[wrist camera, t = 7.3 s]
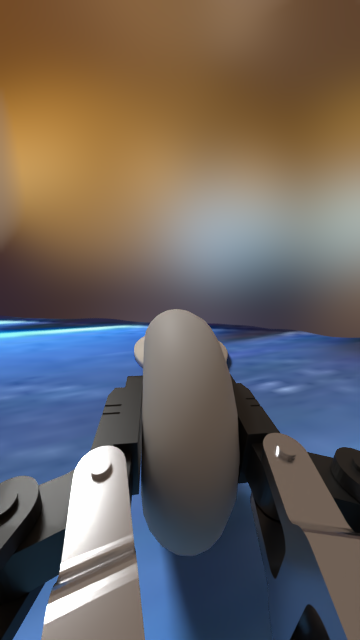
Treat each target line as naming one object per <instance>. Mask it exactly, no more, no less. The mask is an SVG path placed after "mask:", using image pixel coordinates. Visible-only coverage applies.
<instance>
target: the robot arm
mask: <svg viewBox="0 0 360 640" xmlns="http://www.w3.org/2000/svg"><path fill="white" fill-rule="evenodd" d="M230 376H231V375H230ZM231 380H232V386H233V391H234V397H235V403H236V408H237V414H238V430H239V448H240V464H239V475H238V483H247V482H248V484H249V486H250V488H251V496H250V503H251V508H252V513H253V518H254V522H255V527H256V532H257V536H258V541H259V546H260V550H261V555H262V560H263V564H264V569H265V574H266V579H267V585H268V608H269V619H270V626H271V633H272V638H273V640H360V451H358V450H355V449H352V448H347V447H342V448H339V449H337V451H336V453H335V455H334V458H331V457H327V456H322V455H318V454H313V453H309V452H307V451H306V450H305V449H304V447H303V446H302V445H301V444H300V443H298V442H297V441H296V440H294V439H293V438H291V437H289V436H287V435H284V434H281V433H280V432H279V431H278V429H277V428H276V426H275V425H274V424H273V422H272V421H271V419H270V418H269V417H268V415H267V414H266V412H265V411H264V410H263V408H262V407H261V406H260V404H259V403H258V401H257V400H256V399H255V397H254V396H253V394H252V393H251V392H250V390H249V389H248V388H246V387H245V386H244V385H242V384H241V383H236V382H235V381H234V379H233V378H232V376H231ZM142 397H143V376H128V377H127V382H126V386H125V388H115V389H114V390H113V391H112V392H111V393H110V394H109V396H108V398H107V401H106V404H105V407H104V411H103V415H102V417H101V420H100V423H99V426H98V429H97V432H96V435H95V439H94V442H93V445H92V448H91V450H90V452H89V453H88V454H86V455H85V456H84V457H83V458H82V459H81V461H80V462H79V463H78V465H77V467H76V468H75V469H74V470H73V471H71V472H69V473H68V474H65V475H63V476H61V477H59V478H56V479H53V480H51V481H48V482H46V483H43V484H41V485H38V484H37V482H36V480H35V479H34V478H32V477H29V476H18V477H14V478H11V479H8V480H6V481H4V482H2V483H0V640H13V638H14V636H15V634H16V633H17V631H18V629H19V628H20V626H21V624H22V622H23V621H24V619H25V617H26V615H27V614H28V612H29V610H30V608H31V607H32V605H33V603H34V601H35V600H36V598H37V596H38V594H39V593H40V591H41V589H42V588H43V586H44V584H45V582H47V581H49V580H50V579H52V578H54V577H55V576H57V575H59V577H58V580H57V582H56V583H55V584H54V586H53V588H52V590H51V594H50V597H49V601H48V605H47V610H46V615H45V620H44V626H43V632H42V638H41V640H145V637H144V627H143V617H142V607H141V597H140V587H139V578H138V568H137V559H136V551H135V547H134V539H133V529H132V519H131V500H132V495H136V494H139V481H140V465H141V448H142Z"/></svg>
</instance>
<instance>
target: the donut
mask: <svg viewBox="0 0 360 640" xmlns="http://www.w3.org/2000/svg"><path fill="white" fill-rule="evenodd" d="M239 464H240V448H239V430H238V414H237V408H236V403H235V397H234V391H233V386H232V380H231V376H230V373H229V370H228V367H227V364H226V361H225V357H224V354H223V351H222V348H221V346H220V343H219V341H218V340H217V338H216V336H215V335H214V333H213V331H212V329H211V328H210V326H209V325H208V324H207V323H206V322H205V321H204V320H203V319H201V318H199V317H197V316H196V315H194V314H192V313H190V312H188V311H185V310H179V309H175V310H167V311H165V312H163V313H161V314H159V315H158V316H157V317H156V318H155V319H154V320H152V322H151V323H150V325H149V326H148V328H147V330H146V334H145V340H144V358H143V397H142V456H141V496H142V506H143V514H144V517H145V519H146V522H147V525H148V527H149V530H150V532H151V533H152V534H153V536H154V537H155V538H156V539H157V541H158V542H159V543H160V544H161V546H162V547H164V548H166V549H168V550H169V551H171V552H173V553H175V554H176V555H182V556H196V555H198V554H200V553H202V552H204V551H207V550H209V549H210V548H211V547H212V546H213V544H214V543H215V542H216V541H217V540H218V539H219V538H220V536H221V535H222V532H223V530H224V528H225V526H226V524H227V521H228V519H229V517H230V514H231V512H232V509H233V507H234V504H235V502H236V496H237V485H238V475H239Z"/></svg>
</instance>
